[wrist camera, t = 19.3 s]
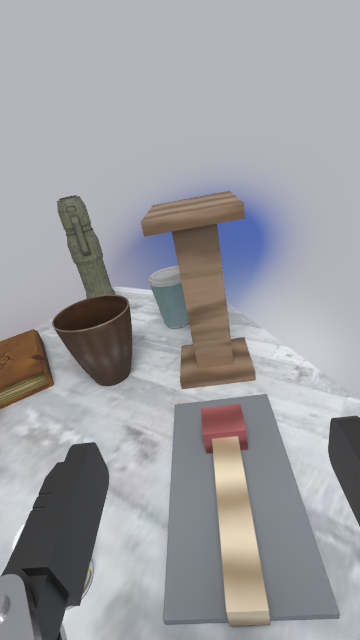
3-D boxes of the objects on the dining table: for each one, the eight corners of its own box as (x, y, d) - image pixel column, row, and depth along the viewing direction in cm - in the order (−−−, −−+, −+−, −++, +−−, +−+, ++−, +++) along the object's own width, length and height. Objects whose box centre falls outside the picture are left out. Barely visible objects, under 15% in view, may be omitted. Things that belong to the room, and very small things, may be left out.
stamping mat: (338, 618, 27) (339, 613, 26) (165, 624, 29) (163, 620, 28) (267, 398, 51) (266, 393, 51) (176, 408, 53) (175, 404, 53)
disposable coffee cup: (152, 332, 79) (139, 279, 72) (167, 312, 88) (156, 264, 81) (190, 333, 75) (179, 277, 68) (202, 312, 84) (193, 261, 77)
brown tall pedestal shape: (257, 387, 54) (243, 202, 39) (181, 396, 56) (140, 221, 41) (243, 340, 68) (229, 190, 53) (183, 348, 70) (152, 205, 55)
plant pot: (146, 349, 72) (129, 288, 65) (148, 389, 59) (127, 319, 52) (85, 362, 72) (61, 303, 64) (74, 406, 59) (42, 338, 51)
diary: (55, 387, 67) (45, 367, 64) (-38, 428, 60) (-54, 408, 57) (44, 344, 85) (35, 327, 82) (-29, 372, 79) (-40, 355, 76)
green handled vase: (96, 321, 91) (53, 201, 75) (89, 309, 101) (49, 200, 85) (123, 311, 94) (87, 193, 78) (114, 300, 104) (80, 193, 88)
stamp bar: (283, 623, 26) (283, 605, 25) (216, 626, 27) (210, 608, 25) (242, 422, 47) (240, 403, 45) (204, 426, 47) (201, 408, 45)
